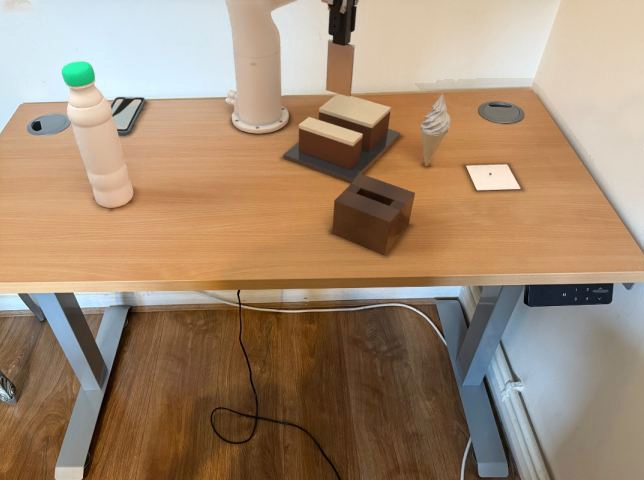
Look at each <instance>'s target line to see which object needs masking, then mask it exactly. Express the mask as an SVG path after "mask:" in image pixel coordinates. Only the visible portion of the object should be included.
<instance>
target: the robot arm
mask: <svg viewBox="0 0 644 480" xmlns="http://www.w3.org/2000/svg"><path fill="white" fill-rule="evenodd" d="M296 1H297V0H224V2H225V6H226V10H227V13H228V18H229V23H230V32H231V40H232V41H231V42H232V50H233V63H234V74H235V75H234V76H235V88H236V91H235V90H231V89H230V90H229V91H228V92H227V97H226V98H225V104H227V105H229V106H233V109H234V110H233V111H232V113H231V122H232V125H233V126H234V127H235V128H237V130H240V131H242V132H245V133H249V134H255V135H256V134H257V135H258V134H259V135H260V134H262V135H263V134H269V133H273V132H276V131H278V130H280V129H282V128H284V127H285V126H286V125H287V124H288V122H289V120H290V113H289V111H288V109H287V108H286V107H285V106H283V104H282V103H283V101H282V52H281V51H282V50H281V48H282V47H281V34H280V31H279V28H278V27H277V24H276V22H275V21H274V19H273V18H272V12H273V11H275V10H277V9H279V8H281V7H285V6H287V5H290V4H292V3H294V2H296ZM359 1H360V0H353V12H352V26H351V33H353V32H355V30H356V22H357V21H356V19H357V10H358V9H357V7H358V4H359ZM320 2H321V3H323V4H326V5H327V10H328V31H327V33H328V35H329V36H332V37H333V36H336V37H340V38H345V37H346V35H347V22H348V12H346V4H347V0H320Z"/></svg>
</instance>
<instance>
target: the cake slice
mask: <svg viewBox="0 0 644 480" xmlns="http://www.w3.org/2000/svg"><path fill="white" fill-rule="evenodd" d="M362 136H363V134H361V133H358V132H355V131H352V130H349V129H346V128H342V127H339V126H336V125H333V124H330V123H327V122H324V121H320V120H319V119H317V118H314V117H311V116H307V118H305V119H304V120H303V121H301V122H300V123H299V124H298V142H299V152H301V153H304V154H307V155H310V156H312V157H315V158H318V159H321V160H324V161H327V162H330V163H332V164H335V165H338V166H341V167H344V168H347V169H349V170H351V169H352V168H353V167H354V166H355V165H356V164H358V163H359V162H360V155H361V145H362Z"/></svg>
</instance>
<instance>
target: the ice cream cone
mask: <svg viewBox="0 0 644 480" xmlns="http://www.w3.org/2000/svg"><path fill="white" fill-rule="evenodd" d="M431 108H432V109H431V110H429V111H427V112H426V113H427V115H423V118H424V119H425V120H423V121H422V123H421V124H420V127H419V129H420V132H421V143H422V153H423V160H424V167H428V166H429V164H430V162H431V160H432V159H433V157H434V155H435V154H436V152H437V150H438V148H439V146H440V145H441V143H442V141H443V139H444V138H445V137H446V134H447V133H448V132H449V129H450V125H451V116H450V115H449V113H448V112H447V110H448V108H447V105H446V102H445V97H444V92H441V94H440V96H439V97H438V98H437V100H436V102H435V103H434V104H433V105H432V106H431Z"/></svg>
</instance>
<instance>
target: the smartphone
mask: <svg viewBox="0 0 644 480" xmlns="http://www.w3.org/2000/svg"><path fill="white" fill-rule="evenodd" d="M145 104H146V98H145V97H143V96H116V97H115V98H114V99H113V101H112V102H111V103H110V105H111V109H112V117H113V119H114V122H115V125H116V128H117V132H118V135H119V136H120V135H124V136H125V135H128V134H130V133H131V131H132V129H133V127H134V125H135V123H136V121H137V120H138V117H139V115H140V113H141V112H142V110H143V107H144V106H145Z"/></svg>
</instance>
